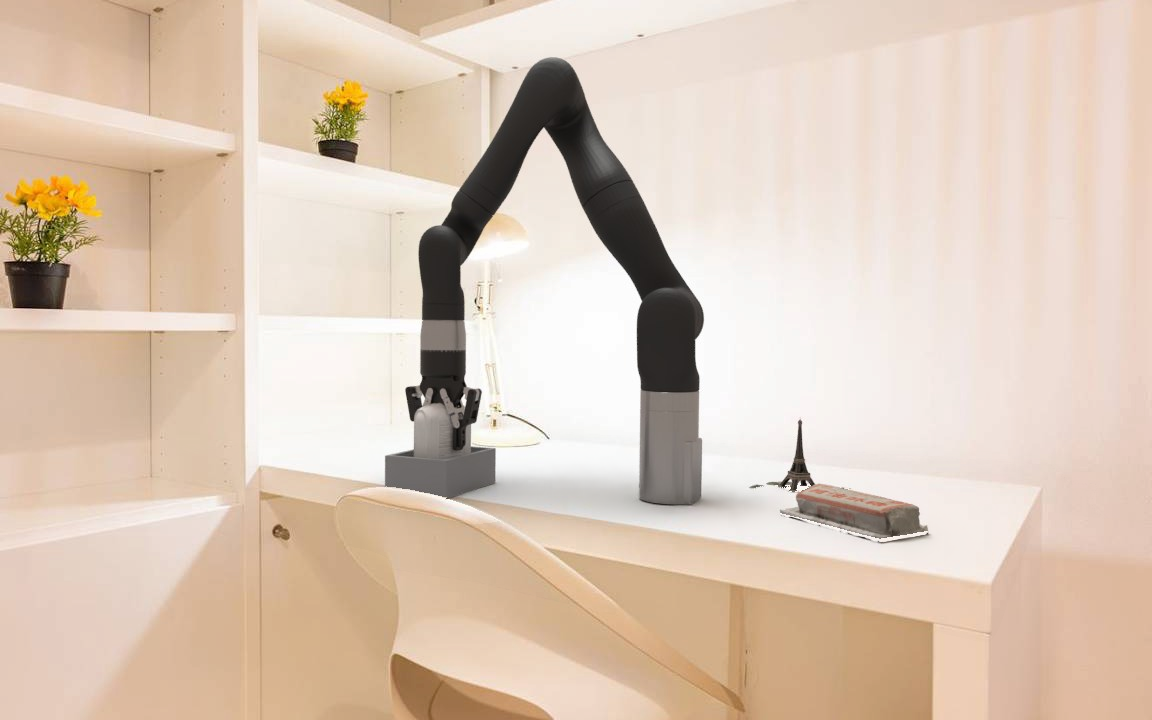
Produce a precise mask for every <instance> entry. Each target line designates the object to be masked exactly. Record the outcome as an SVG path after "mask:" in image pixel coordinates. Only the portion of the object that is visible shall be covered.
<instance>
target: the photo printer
mask: <svg viewBox="0 0 1152 720" xmlns="http://www.w3.org/2000/svg"><path fill="white" fill-rule="evenodd" d="M463 406H464V409H465V405H464V404H463ZM454 408H455V409H457V408H458V407H457V406H456V407H454ZM453 428H455V427H454V425H453V422H452V419H451V417H450V416H449V415H448V413H447V410H446V407H445V406H444V405H443V404H441V403H437V404H436V403H433V404H429V405H426V406H424V407H422V408H420V409H418V410H417V411H416V413H415V417H414V422H413V449H414V457H418V458H429V459H441V460H446V459H450V458H454V457H458V456H462V455H466V454H470V453H471V446H472V424H470V425H468V426H467V427H466V444H465V446H464V447H463V449H462V450H458V451H455V450H453Z"/></svg>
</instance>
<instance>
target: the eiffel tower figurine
mask: <svg viewBox="0 0 1152 720" xmlns="http://www.w3.org/2000/svg"><path fill="white" fill-rule="evenodd" d="M801 419H802V418H799V420H797V425H798V427H797V436H796V437H797V438H796V440H797V441H796V448H795V455H794V458H793V461H792V465H791V467H790V469H789V470H787V475H786V476H785V477H784V479H783V480H782V481H769V482H767V483H766V485H768V486H775V485H778V488H780V487H781V488H780V489H782V487H783V488H784V487H785V488H786V487H787V486H785V485H790V487H791V489H790V490H789V491H792V492H791V493H796V492H795V491H797V490H796V489H797V485H798V483H801V485H800V486H807V484H810V485H811V486H813V485H815V484H816V483H815V482H814V480H813V478H812V477H811V472H809V471H808V467H807V464H806V459H805V456H804V448H803V429H802V426H803V421H802V420H801ZM790 480H791V481H790ZM760 486H761V487H762V486H763V487H764V485H763V484H754V485H751V486H749V488H751V489H754V488H755V489H757V488H761V487H760ZM811 486H810V487H811ZM756 487H757V488H756ZM788 487H789V486H788ZM789 491H788V492H789Z"/></svg>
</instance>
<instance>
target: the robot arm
mask: <svg viewBox="0 0 1152 720" xmlns="http://www.w3.org/2000/svg"><path fill="white" fill-rule="evenodd" d="M543 129H545V131H546V133H547V135H549V137H550V138H551V140H552V141H553V143H554V144H555V147H556V148H557V149H558V151H559V152H560V154H561V157H563V160H564V162H565V164H566V167H567V170H568V173H569V176H570V179H571V183H572V185H573V189H574V191H575V194H576V196H577V200H578V201H579V203H580V206H581V208H582V210H583V212H584V213H585V215H586V217H587V220H588V221H589V224H591V226H592V229H593V230H594V232H595V234H596V236H597V237H598V239H599V240H600V242H601V243H602V244H603V245H604V247H605V248H606V249H607V250H608V252H609V253H610V254H611V255H612V257H613V258H614V259H615V261H617V263H618V264H619V266H621V268H622V269H623V270H624V271H625V272H626V274H627V276H628V277H629V278H630V280H631V282H632V283H633V285H634V287H635V290H636V291H637V293H638V296H639V298H640V300H641V303H640V305H639V306H638V307H639V308H638V310H637V316H636V364H637V371H638V372H637V373H638V375H639V378H640V391H639V392H640V400H639V401H640V409H639V465H638V466H639V471H638V473H639V476H638V478H639V481H638V482H639V483H638V488H639V491H638V492H639V493H638V494H639V495H638V498H639V499H640V500H642V501H644V502H649V503H654V504H663V505H692V504H694V503H695V502H697V501H698V500H699V499H701V498H702V483H703V482H702V480H703V478H702V476H703V475H702V473H703V470H702V469H703V438H701V437H699V434H700V433H699V431H700V430H699V429H700V427H699V426H700V378H701V377H700V374H699V371H698V367H697V362H696V360H697V359H696V340H697V338H699V336H700V334H701V332H702V330H703V328H704V325H705V316H704V315H705V313H704V310H703V309H704V308H703V307H702V304H701V302H700V301H699V300H698V298H697V296H696V295H695V294H694V293H693V291H692V290H691V288H690V286H689V285H688V284H687V282H686V280H685V279H684V278H683V276H682V274H681V273H680V272H679V270H678V268H677V267H676V266H675V264H674V261H672V259H671V257H670V255H669V253H668V251H667V248H666V247H665V245H664V242H663V240H662V238H661V236H660V233H659V231H658V229H657V227H656V224H655V222H654V220H653V218H652V216H651V214H650V212H649V210H648V208H647V206H646V204H645V201H644V199H643V197H642V196H641V193H640V192H639V190H638V188H637V186H636V183H634V180H633V179H632V177H631V176H630V174H629V172H628V171H627V169H626V168H625V166H624V165H623V163H622V162H621V161H620V159H619V158H618V157H617V156H616V154H615V152H613V150H612V149H611V148H610V147H609V145H608V144H607V142H606V141H605V140H604V138H603V137H602V135H601V132H600V131H599V129H598V127H597V124H596V122H595V118H594V117H593V114H592V112H591V109H590V107H589V104H588V101H587V97H586V94H585V92H584V89H583V86H582V84H581V81H580V78H579V77H578V74H577V73H576V71H575V69H574V67H573V66H572V65H571V64H570V63H569V62H568V61H567V60H565V59H563V58H560V57H555V56H554V57H553V56H550V57H545V58H541V59H539V60H538V61H537V62H536V63H534V64H533V65H532V66H531V67H530V68H529V70H528V72H527V73H526V75H525V77H524V79H523V80H522V82H521V85H520V86H519V89H518V90H517V92H516V94H515V97H514V99H513V102H511V105H510V107H509V109H508V110H507V113H506V115H505V117H504V119H503V121H502V123H501V124H500V126H499V127H498V129H497V131H496V133H495V134H494V136H493V138H492V140H491V142H490V144H489V145H488V146H487V148H486V150H485V151H484V153H483V154H482V156H481V158H480V159H479V161H478V162H477V164H476V165H475V166H474V168H473V169H472V170H471V172H470V173H469V175H468V176H467V177H466V178H465V180H464V182H463V183H462V185H461V186H460V187H459V189H458V190H457V192H456V193H455V195H454V197H453V199H452V201H451V207H450V211H449V212H448V214H447V216H446V217H445V218H444V220H443V221H442V223H441V224H440V225H434V226H431V227H429V228H428V229H426V230H425V231H424V232H423V233H422V235H421V236H420V240H419V244H418V254H417V255H418V265H419V266H418V267H419V274H420V275H419V276H420V284H421V289H422V298H421V328H420V334H419V335H420V336H419V338H420V348H419V350H420V351H419V352H420V354H419V356H420V357H419V358H420V359H419V360H420V361H419V364H420V365H419V368H420V369H419V372H420V373H419V374H420V376H421V381H420V383H419V385H411V386H407V387H405V389H404V390H405V391H404V392H405V397H406V403H407V411H408V415H409V420H410V421H411V422H413V423H414V417H415V413H416V411H417V410H418V409H420V408H422V407H424V406H426V405H429V404H433V403H436V404H437V403H441V404H443V405H444V406H445V407H446V410H447V413H448V415H449V416H450V417H451V419H452V422H453V425H454V427H455V428H453V450H455V451H458V450H462V449H463V447H464V446H465V444H466V427H467V426H468V425H470V424H471V425H472V424H476V423H477V420H478V416H479V415H478V414H479V410H480V404H481V399H482V393H483V391H482V389H481V388H479V387H478V388H473V387H469V386H467V384H466V382H465V378H466V373H467V371H466V368H467V365H466V364H467V359H466V357H467V353H466V352H467V333H466V332H467V331H466V323H465V316H466V315H465V305H466V304H465V303H466V302H465V293H464V290H463V287H462V284H461V283H462V281H461V278H462V277H461V276H462V275H461V274H462V272H461V271H462V270H461V268H462V267H461V266H463V264H464V263H465V262H466V261H467V259H468V258H469V256H470V255H471V253H472V251H473V250H474V248H475V246H476V245H477V243H478V241H479V239H480V237H481V235H482V233H483V231H484V230H485V227H486V226H487V224H488V223H489V222H490V221H491V220H492V219H493V217H494V216H495V214H496V213H497V211H498V210H499V209H500V207H501V206H502V204H503V203H504V202H505V200H506V198H507V197H508V195H509V194H510V192H511V190H512V189H513V187H514V185H515V183H516V181H517V179H518V177H519V173H520V171H521V169H522V167H523V164H524V161H525V159H526V157H527V155H528V153H529V151H530V149H531V147H532V145H533V144H534V142H535V140H536V139H537V137H538V136H539V134H540V133H541V132H542V130H543ZM422 396H423V397H424V401H423V403H422ZM463 397H464V399H465V400H466V401H465V405H464V404H463V401H462V399H463ZM463 405H464V406H465V409H464V406H463ZM456 406H457V407H458V408H457V409H455V408H454V407H456Z"/></svg>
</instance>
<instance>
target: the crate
mask: <svg viewBox="0 0 1152 720" xmlns="http://www.w3.org/2000/svg"><path fill="white" fill-rule="evenodd" d="M496 450H497V449H496V447H484V446H472V445H471V453H470V454H466V455H462V456H458V457H454V458H450V459H446V460H441V459H429V458H418V457H414V448H413V449H409V450H405V451H401V452H395V453H390V454H386V455H384V487H385V486H387V487H396V488H402V489H410V490H415V491H419V492H424V493H430V494H434V495H438V496H442V497H447V498H448V499H450V498H454V497H456V496H459V495H462V494H466V493H468V492H471V491H475V490H477V489H480V488H483V487H487V486H489V485H492V484H494V483H495V484H496V466H497V465H496V459H497V458H496V453H497V451H496Z"/></svg>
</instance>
